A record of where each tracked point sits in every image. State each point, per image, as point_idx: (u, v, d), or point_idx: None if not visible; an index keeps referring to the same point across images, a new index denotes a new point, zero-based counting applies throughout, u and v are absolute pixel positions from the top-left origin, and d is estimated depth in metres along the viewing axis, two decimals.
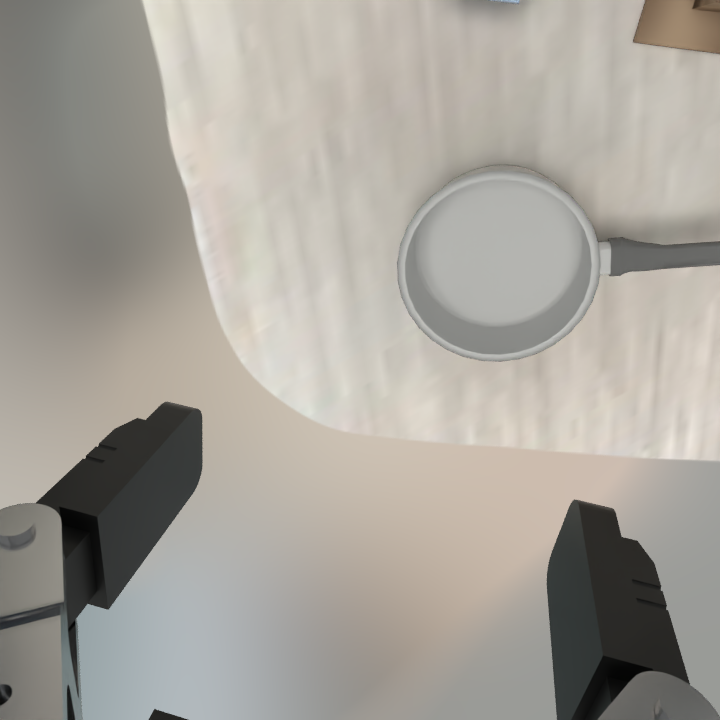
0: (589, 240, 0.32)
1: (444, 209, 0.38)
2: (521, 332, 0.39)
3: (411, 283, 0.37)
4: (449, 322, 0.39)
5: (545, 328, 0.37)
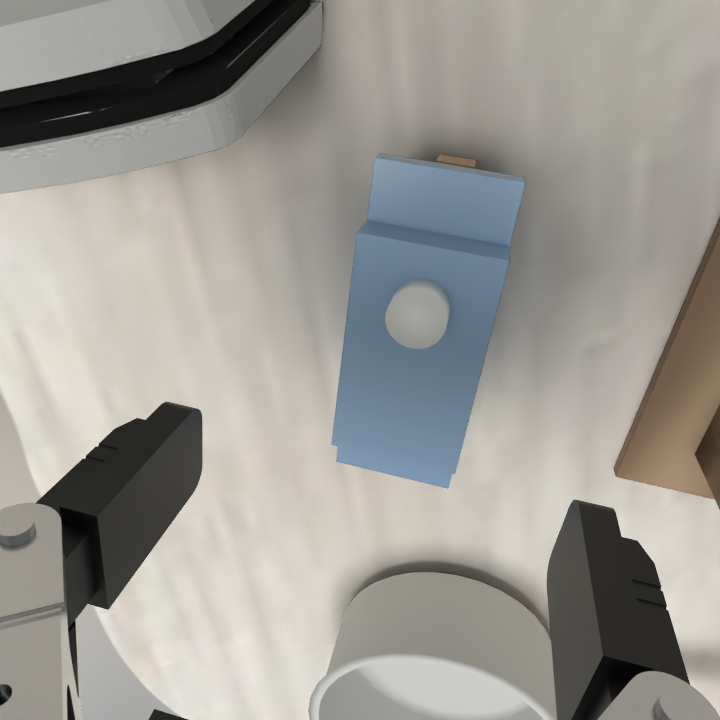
0: None
1: None
2: None
3: (333, 707, 0.29)
4: None
5: None
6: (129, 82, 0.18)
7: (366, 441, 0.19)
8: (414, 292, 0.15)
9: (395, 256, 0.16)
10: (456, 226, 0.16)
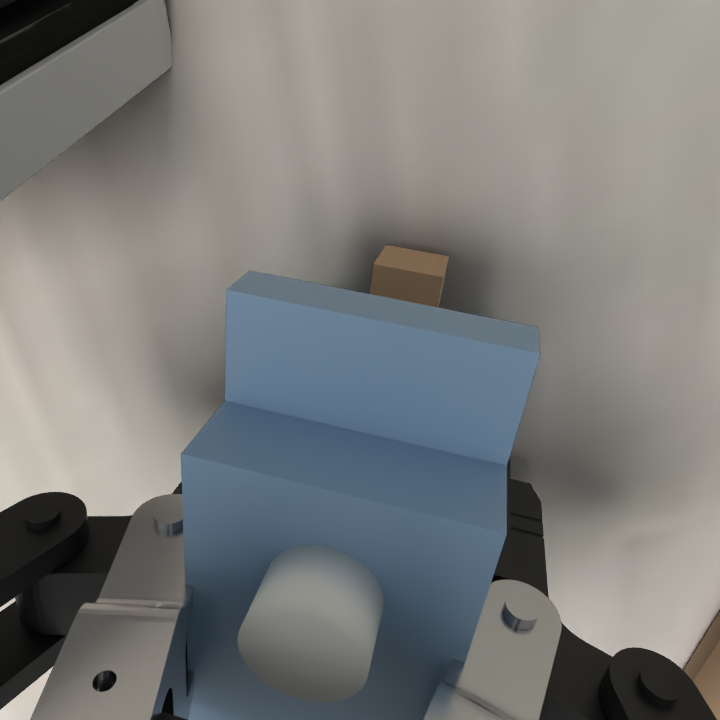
0: None
1: None
2: None
3: None
4: None
5: None
6: None
7: None
8: (293, 610, 0.07)
9: (264, 502, 0.07)
10: (398, 424, 0.08)
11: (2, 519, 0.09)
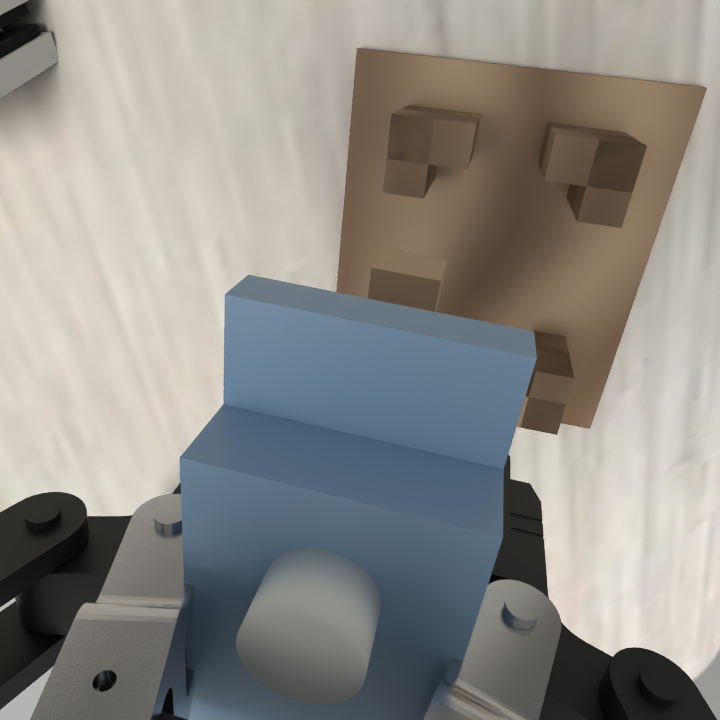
0: None
1: None
2: None
3: None
4: None
5: None
6: None
7: None
8: (290, 613, 0.07)
9: (262, 506, 0.07)
10: (396, 427, 0.08)
11: (2, 519, 0.09)
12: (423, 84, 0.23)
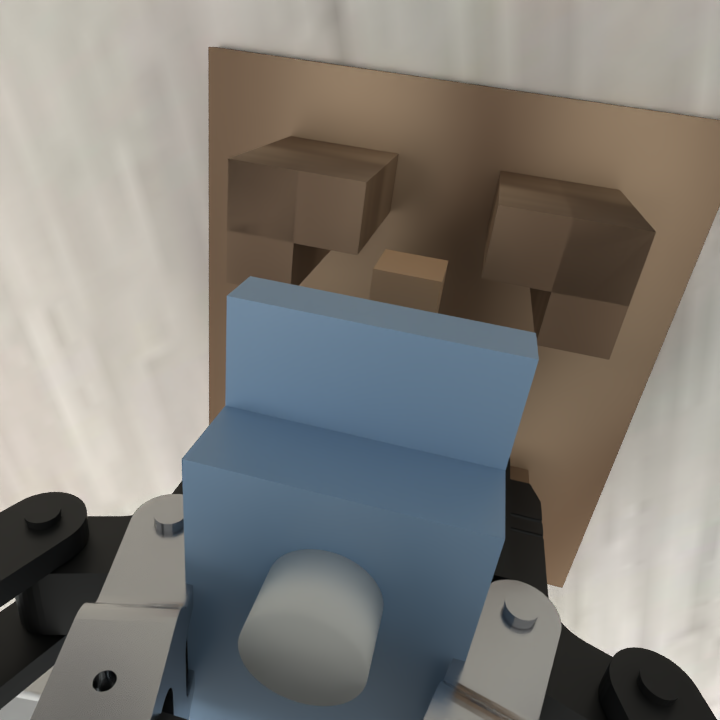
0: None
1: None
2: None
3: None
4: None
5: None
6: None
7: None
8: (293, 614, 0.07)
9: (264, 507, 0.07)
10: (398, 428, 0.08)
11: (2, 519, 0.09)
12: (311, 105, 0.15)
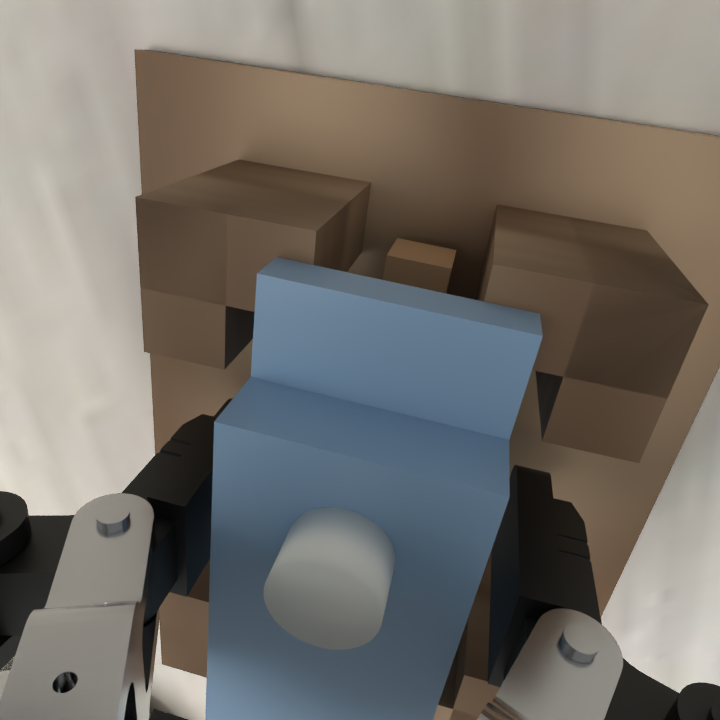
0: None
1: None
2: None
3: None
4: None
5: None
6: None
7: None
8: (316, 561, 0.07)
9: (289, 467, 0.08)
10: (411, 400, 0.09)
11: None
12: (262, 122, 0.12)
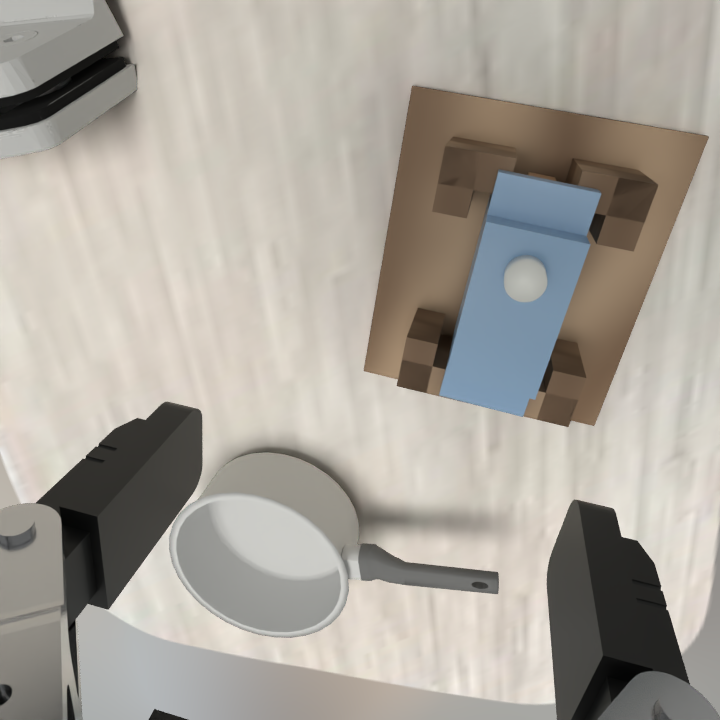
0: (334, 556, 0.34)
1: None
2: (305, 596, 0.40)
3: (193, 556, 0.39)
4: (241, 580, 0.41)
5: (320, 604, 0.38)
6: (9, 106, 0.29)
7: (471, 374, 0.26)
8: (527, 262, 0.22)
9: (511, 239, 0.23)
10: (550, 221, 0.24)
11: None
12: (467, 119, 0.27)
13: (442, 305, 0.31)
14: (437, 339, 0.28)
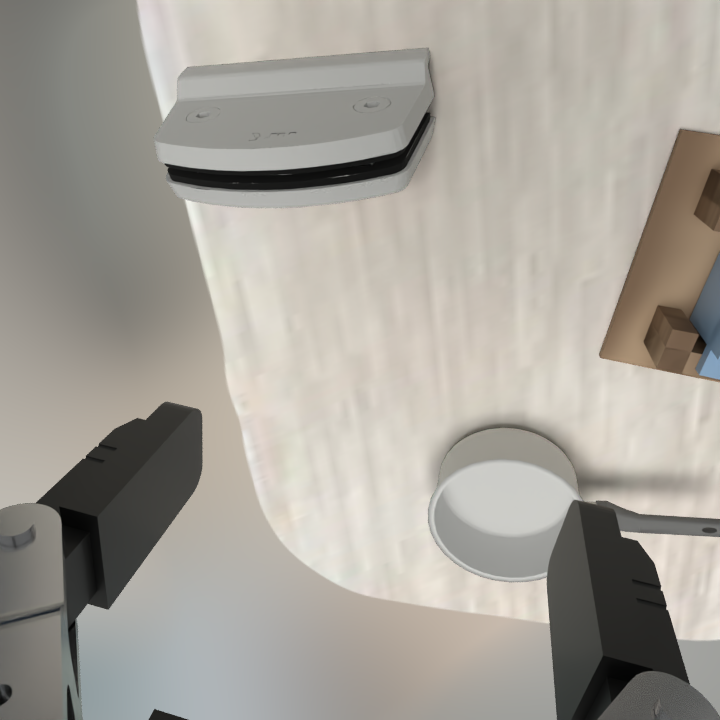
0: None
1: None
2: (526, 549, 0.47)
3: (438, 516, 0.46)
4: (467, 537, 0.48)
5: (546, 554, 0.46)
6: None
7: None
8: None
9: None
10: None
11: None
12: None
13: (680, 302, 0.38)
14: (695, 330, 0.35)
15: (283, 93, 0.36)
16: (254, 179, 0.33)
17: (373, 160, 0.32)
